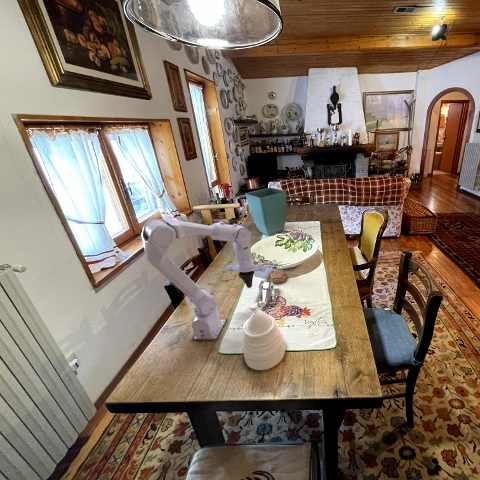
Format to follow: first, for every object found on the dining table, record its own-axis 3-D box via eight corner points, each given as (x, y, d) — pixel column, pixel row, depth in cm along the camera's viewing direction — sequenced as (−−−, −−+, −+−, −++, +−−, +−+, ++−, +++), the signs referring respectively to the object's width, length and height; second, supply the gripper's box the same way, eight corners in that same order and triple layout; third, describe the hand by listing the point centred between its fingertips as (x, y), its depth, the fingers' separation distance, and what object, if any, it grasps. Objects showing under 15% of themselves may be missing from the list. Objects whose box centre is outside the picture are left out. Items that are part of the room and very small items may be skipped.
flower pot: (266, 239, 166) (260, 197, 155) (251, 232, 180) (244, 193, 168) (290, 230, 178) (286, 191, 167) (275, 224, 192) (270, 187, 180)
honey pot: (237, 353, 82) (226, 309, 75) (270, 332, 90) (263, 290, 83) (258, 378, 74) (248, 331, 66) (293, 351, 82) (287, 307, 74)
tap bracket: (274, 305, 104) (272, 290, 101) (255, 305, 104) (252, 290, 101) (279, 290, 113) (277, 276, 110) (261, 290, 114) (259, 277, 111)
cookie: (277, 286, 116) (276, 281, 115) (262, 280, 122) (261, 274, 121) (292, 277, 123) (291, 271, 122) (277, 270, 129) (276, 265, 128)
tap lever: (266, 308, 101) (264, 305, 99) (259, 308, 101) (258, 305, 99) (270, 285, 108) (269, 282, 106) (264, 286, 108) (263, 282, 107)
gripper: (265, 251, 98) (270, 280, 104) (229, 251, 99) (235, 281, 105) (260, 259, 92) (265, 290, 97) (222, 260, 93) (229, 291, 98)
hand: (249, 286), depth 101 cm, fingers closed
